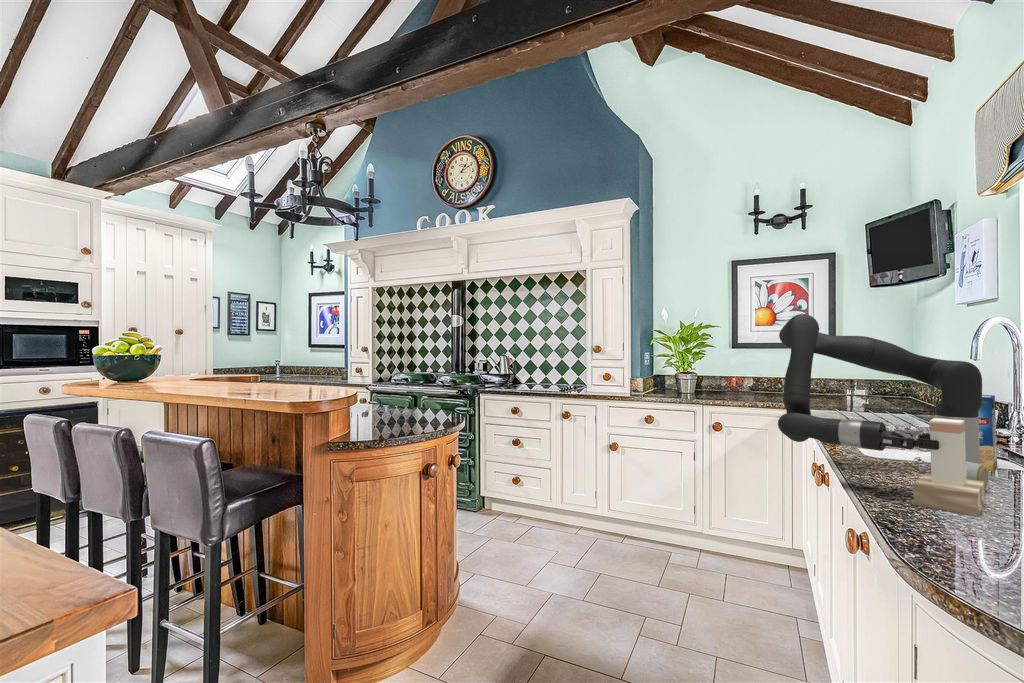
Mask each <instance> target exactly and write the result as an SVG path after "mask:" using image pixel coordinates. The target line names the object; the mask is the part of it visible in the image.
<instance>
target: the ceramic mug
mask: <svg viewBox="0 0 1024 683" xmlns="http://www.w3.org/2000/svg"><path fill="white" fill-rule="evenodd" d="M966 479H971V480H978V481H985V490H986V489H987V487H988V485H989V470H987V468H986V467H985V466H983V465H980V464H977V463H972V462H967V461H966Z"/></svg>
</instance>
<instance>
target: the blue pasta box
mask: <svg viewBox="0 0 1024 683" xmlns="http://www.w3.org/2000/svg"><path fill="white" fill-rule="evenodd" d="M996 417H997V416H996V395H993V394H992V395H991V394H982V405H981V408H980V409H979V412H978V420H979V445H980V465H983V466H985V467H986V468H987V470H988V471H990V472H991V471H992V472H994V471H996V469H997V468H998V453H997V452H998V449H997V423H996V422H997V421H996Z"/></svg>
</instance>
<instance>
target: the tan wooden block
mask: <svg viewBox="0 0 1024 683" xmlns="http://www.w3.org/2000/svg"><path fill="white" fill-rule="evenodd" d="M912 486H913V505H915V506H920V507H925V508H931V509H936V510H941V511H948V512H952V513H958V514H963V515H967V516H968V515H969V516H974V517H979V515H980V513H981V511H982V509H983V508H984V506H985V504H986V503H987V502H986V489H985V481H978V480H971V479H967V483H966V484H965V485H964V486H963V487H957V486H951V485H944V484H938V483H932V477H931V473H927V472H925V473H924V474H922V475H921V476H920V477H919V478H918V479H917V480H915V481H914V483H913V485H912Z"/></svg>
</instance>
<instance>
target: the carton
mask: <svg viewBox="0 0 1024 683" xmlns="http://www.w3.org/2000/svg"><path fill="white" fill-rule="evenodd" d="M928 423H929V426H928V427H929V434H930V440H937V441H939V449H938V450H933V449H930V470H931V471H930V474H931V477H932V483H938V484H944V485H951V486H957V487H963V486H964V485H965V484H966V483H967V479H966V450H965V421H964V420H954V419H940V418H935V417H934V418H932V419H930V420H929V422H928Z"/></svg>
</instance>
